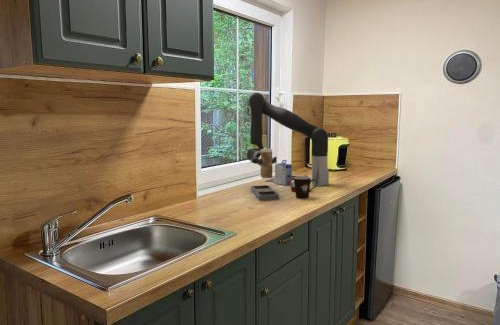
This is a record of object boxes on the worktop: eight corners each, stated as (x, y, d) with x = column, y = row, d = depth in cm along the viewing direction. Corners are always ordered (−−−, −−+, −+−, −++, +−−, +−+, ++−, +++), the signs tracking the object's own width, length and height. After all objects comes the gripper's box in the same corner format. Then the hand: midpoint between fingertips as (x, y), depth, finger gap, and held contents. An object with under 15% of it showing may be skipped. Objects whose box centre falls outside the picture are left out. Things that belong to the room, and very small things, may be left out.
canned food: (308, 200, 201) (309, 186, 195) (289, 198, 202) (290, 184, 196) (309, 187, 209) (311, 173, 204) (292, 185, 211) (292, 171, 205)
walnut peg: (270, 176, 189) (270, 148, 187) (272, 177, 184) (272, 149, 182) (260, 176, 188) (260, 149, 186) (262, 178, 183) (262, 150, 182)
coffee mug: (292, 198, 185) (292, 179, 183) (294, 195, 193) (294, 176, 192) (316, 199, 182) (316, 179, 181) (317, 195, 190) (317, 176, 189)
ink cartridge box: (292, 184, 222) (292, 160, 220) (285, 185, 219) (285, 161, 217) (280, 182, 230) (280, 159, 228) (274, 183, 226) (274, 160, 225)
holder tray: (268, 189, 209) (268, 185, 209) (279, 199, 183) (279, 194, 183) (251, 190, 207) (250, 186, 207) (259, 200, 182) (259, 195, 182)
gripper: (247, 151, 198) (253, 154, 181) (274, 150, 200) (281, 154, 183) (248, 165, 199) (253, 170, 182) (274, 164, 201) (281, 169, 184)
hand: (267, 162), depth 183 cm, fingers closed on walnut peg, 5 cm apart
